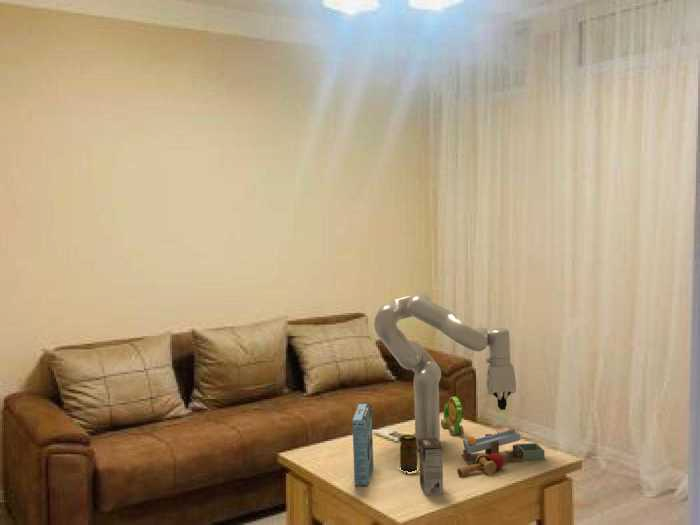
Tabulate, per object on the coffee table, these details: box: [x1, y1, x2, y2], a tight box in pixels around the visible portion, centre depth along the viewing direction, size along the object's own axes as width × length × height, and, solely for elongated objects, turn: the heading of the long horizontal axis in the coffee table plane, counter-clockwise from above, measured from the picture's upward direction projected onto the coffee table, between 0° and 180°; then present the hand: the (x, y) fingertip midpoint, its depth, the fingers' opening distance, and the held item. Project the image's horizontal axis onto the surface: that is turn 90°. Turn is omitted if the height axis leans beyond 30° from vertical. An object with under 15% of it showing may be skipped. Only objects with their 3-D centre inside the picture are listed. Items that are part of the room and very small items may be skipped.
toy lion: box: [440, 396, 465, 436], centre depth 289 cm, size 16×5×15 cm, turn 13°
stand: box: [461, 433, 525, 466], centre depth 259 cm, size 21×9×8 cm, turn 95°
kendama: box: [457, 453, 505, 478], centre depth 246 cm, size 8×6×18 cm
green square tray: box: [515, 442, 545, 462], centre depth 260 cm, size 8×8×4 cm
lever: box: [462, 427, 522, 454], centre depth 261 cm, size 20×12×4 cm, turn 95°
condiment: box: [399, 434, 420, 475], centre depth 250 cm, size 7×8×12 cm
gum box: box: [351, 403, 374, 486], centre depth 245 cm, size 20×5×23 cm, turn 172°
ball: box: [466, 436, 477, 446], centre depth 258 cm, size 4×4×4 cm
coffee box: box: [418, 438, 444, 496], centre depth 232 cm, size 9×6×16 cm
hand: (502, 408), depth 265 cm, fingers closed
